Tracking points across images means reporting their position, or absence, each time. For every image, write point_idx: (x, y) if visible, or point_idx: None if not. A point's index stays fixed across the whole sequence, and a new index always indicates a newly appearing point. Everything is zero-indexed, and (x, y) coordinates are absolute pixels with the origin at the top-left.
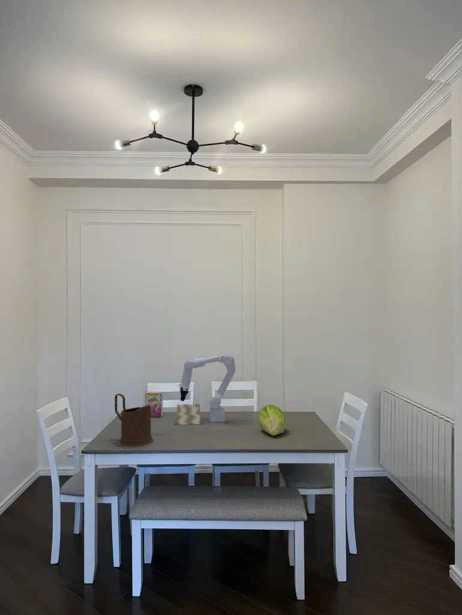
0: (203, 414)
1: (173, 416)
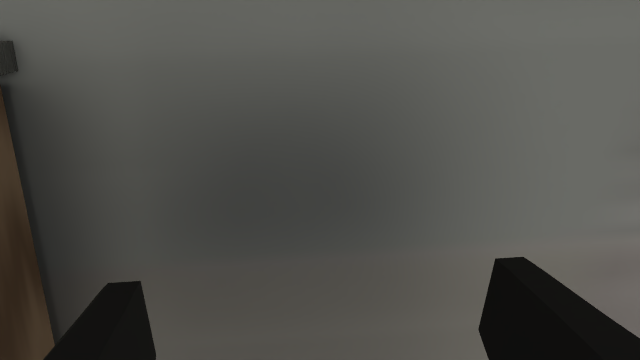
0: None
1: (632, 3)
